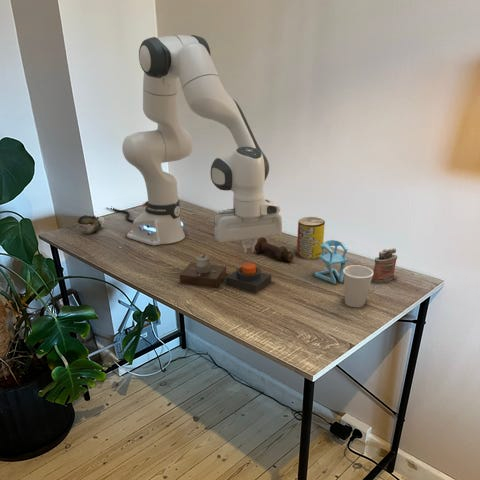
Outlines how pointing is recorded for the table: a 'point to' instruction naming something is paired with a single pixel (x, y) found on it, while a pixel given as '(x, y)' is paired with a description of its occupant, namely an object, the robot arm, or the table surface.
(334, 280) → the chair
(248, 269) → the button
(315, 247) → the beverage can
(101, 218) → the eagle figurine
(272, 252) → the bolt
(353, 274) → the dixie cup
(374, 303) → the table surface
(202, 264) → the knob
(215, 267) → the dial base
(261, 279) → the button box
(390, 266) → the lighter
